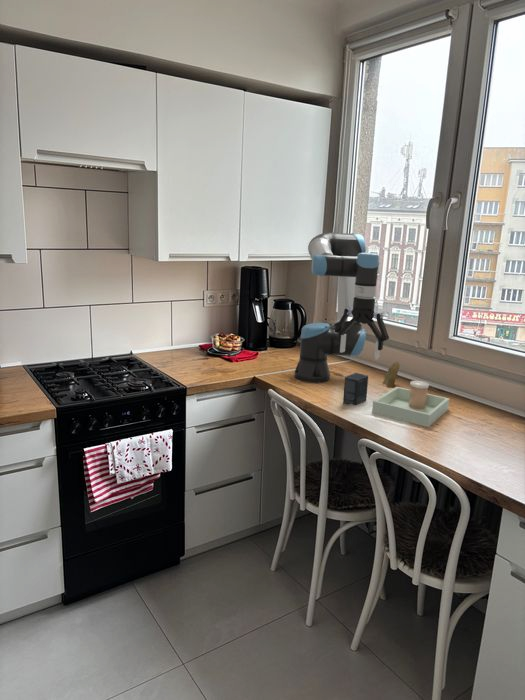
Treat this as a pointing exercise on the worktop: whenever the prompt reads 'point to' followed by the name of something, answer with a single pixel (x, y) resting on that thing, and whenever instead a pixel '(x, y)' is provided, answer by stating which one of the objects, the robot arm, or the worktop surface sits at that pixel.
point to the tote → (398, 407)
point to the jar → (418, 394)
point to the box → (355, 389)
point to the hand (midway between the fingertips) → (359, 355)
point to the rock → (391, 375)
